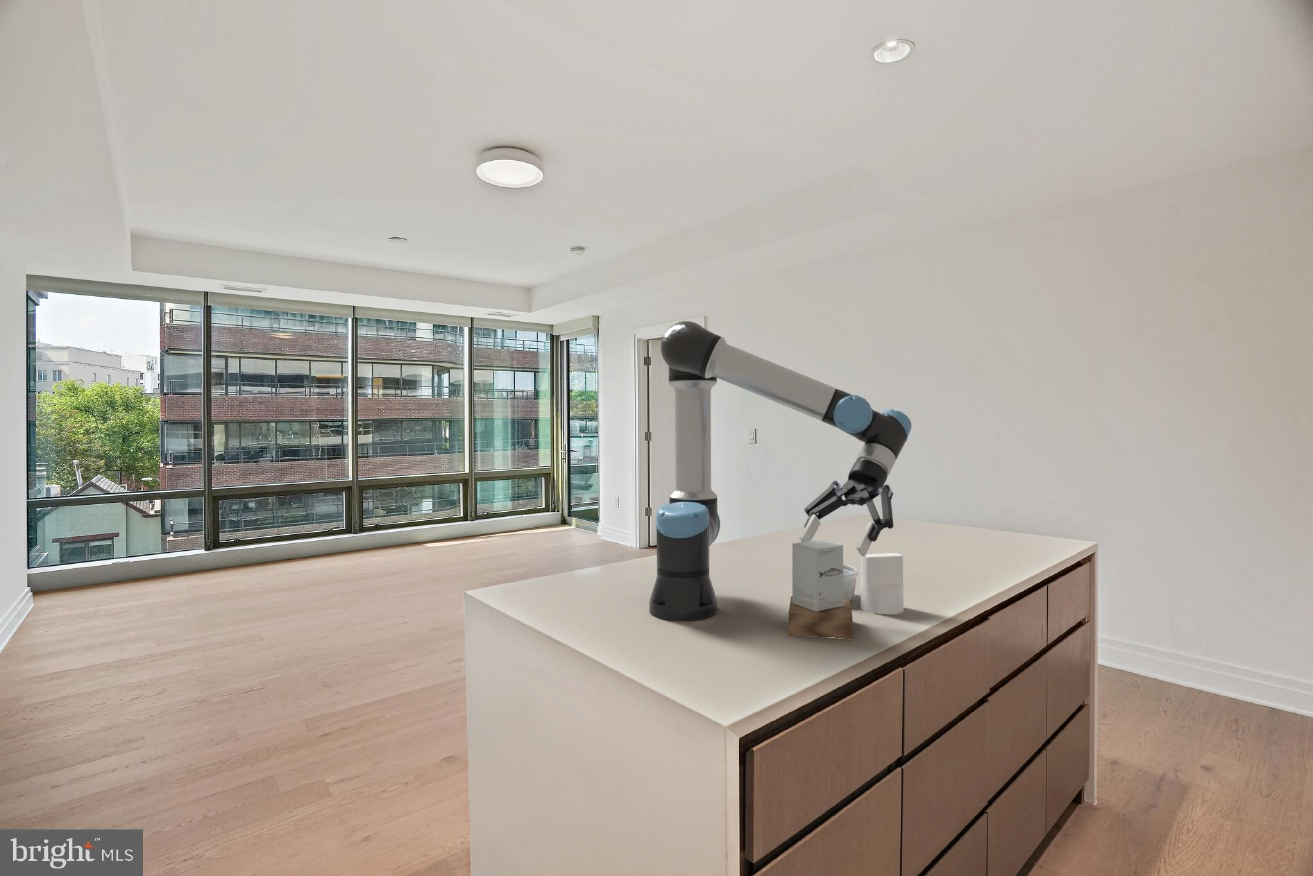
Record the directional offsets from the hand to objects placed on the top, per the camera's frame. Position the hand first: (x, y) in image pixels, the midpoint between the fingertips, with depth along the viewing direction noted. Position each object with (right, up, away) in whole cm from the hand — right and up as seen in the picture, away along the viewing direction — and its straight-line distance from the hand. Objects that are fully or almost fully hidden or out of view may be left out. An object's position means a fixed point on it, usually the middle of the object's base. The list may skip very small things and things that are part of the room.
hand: (830, 547), depth 132 cm
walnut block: (-2, -17, -1) cm, 17 cm away
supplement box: (-3, -12, -1) cm, 12 cm away
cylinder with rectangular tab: (+15, -16, +12) cm, 25 cm away
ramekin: (+5, -16, +22) cm, 27 cm away
